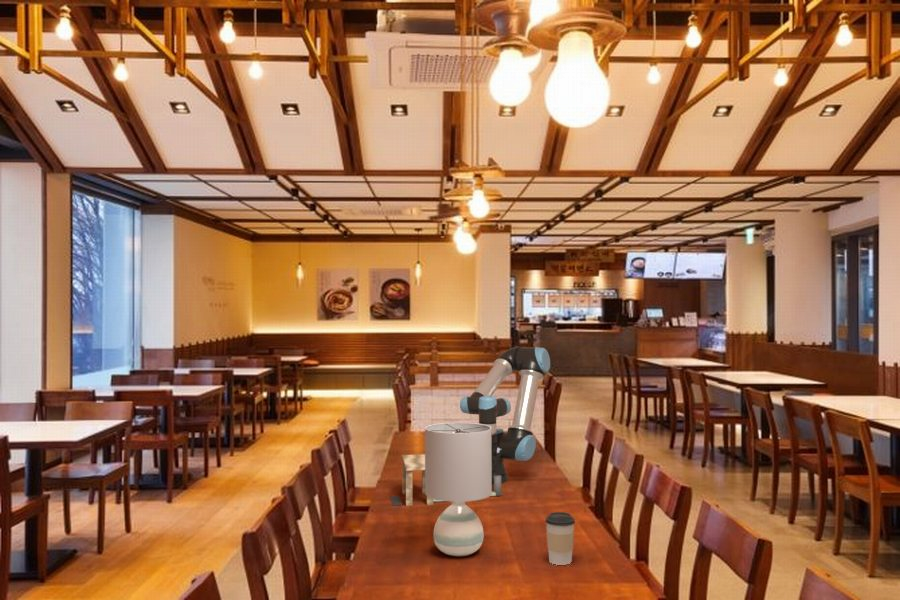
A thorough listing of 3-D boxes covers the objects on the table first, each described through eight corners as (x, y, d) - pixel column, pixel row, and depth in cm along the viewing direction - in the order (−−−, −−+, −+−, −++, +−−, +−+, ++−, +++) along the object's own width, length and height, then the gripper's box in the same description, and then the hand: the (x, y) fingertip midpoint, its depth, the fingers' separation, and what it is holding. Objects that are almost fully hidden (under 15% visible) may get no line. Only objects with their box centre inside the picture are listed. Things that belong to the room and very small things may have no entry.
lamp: (440, 567, 223) (440, 435, 223) (415, 546, 243) (415, 425, 243) (503, 557, 231) (503, 430, 232) (474, 538, 251) (473, 421, 252)
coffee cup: (543, 557, 231) (542, 510, 232) (571, 556, 232) (570, 509, 232) (549, 567, 222) (549, 518, 223) (578, 566, 223) (578, 517, 223)
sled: (498, 490, 316) (498, 472, 316) (504, 498, 303) (504, 479, 303) (427, 493, 312) (426, 474, 312) (430, 501, 298) (430, 482, 298)
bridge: (427, 491, 317) (427, 454, 317) (433, 505, 293) (433, 465, 293) (402, 492, 315) (402, 455, 316) (406, 506, 292) (406, 466, 292)
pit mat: (399, 496, 308) (399, 495, 308) (402, 505, 294) (402, 504, 294) (390, 496, 308) (390, 496, 308) (392, 505, 294) (392, 505, 294)
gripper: (500, 431, 313) (500, 486, 313) (471, 432, 312) (471, 487, 311) (504, 434, 306) (504, 490, 306) (474, 435, 304) (474, 491, 304)
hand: (487, 488), depth 309 cm, fingers closed
